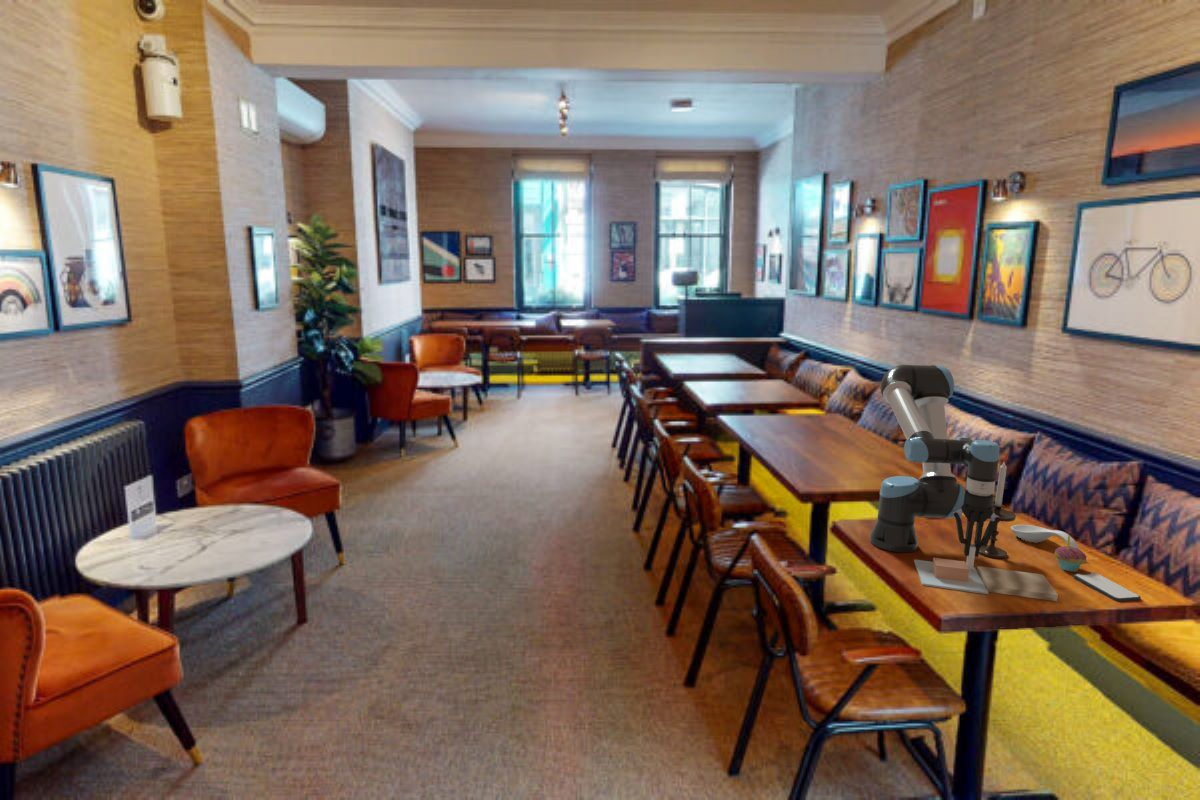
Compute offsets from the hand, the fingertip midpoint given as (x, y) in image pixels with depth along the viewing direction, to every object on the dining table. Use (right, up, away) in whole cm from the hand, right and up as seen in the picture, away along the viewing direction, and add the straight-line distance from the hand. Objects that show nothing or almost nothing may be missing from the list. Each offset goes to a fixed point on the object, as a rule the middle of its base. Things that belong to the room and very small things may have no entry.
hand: (969, 565), depth 209 cm
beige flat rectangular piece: (+12, -6, -3) cm, 14 cm away
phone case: (+40, -7, -3) cm, 40 cm away
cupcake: (+37, -4, +10) cm, 39 cm away
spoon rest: (+41, 0, +29) cm, 50 cm away
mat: (-5, -4, +2) cm, 7 cm away
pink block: (-5, -4, +2) cm, 7 cm away
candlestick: (+19, -1, +21) cm, 28 cm away
